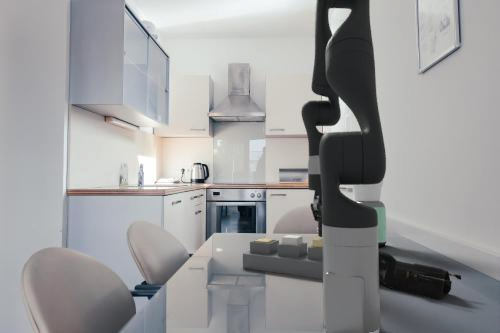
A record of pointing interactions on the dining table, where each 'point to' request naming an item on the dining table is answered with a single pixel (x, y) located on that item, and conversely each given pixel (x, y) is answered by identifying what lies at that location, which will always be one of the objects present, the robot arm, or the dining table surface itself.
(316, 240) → the brass metal cube
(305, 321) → the dining table surface
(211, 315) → the dining table surface
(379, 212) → the juicer
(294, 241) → the white square block
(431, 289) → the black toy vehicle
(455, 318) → the dining table surface
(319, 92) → the robot arm
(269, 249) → the console
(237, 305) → the dining table surface
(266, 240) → the gold square block
